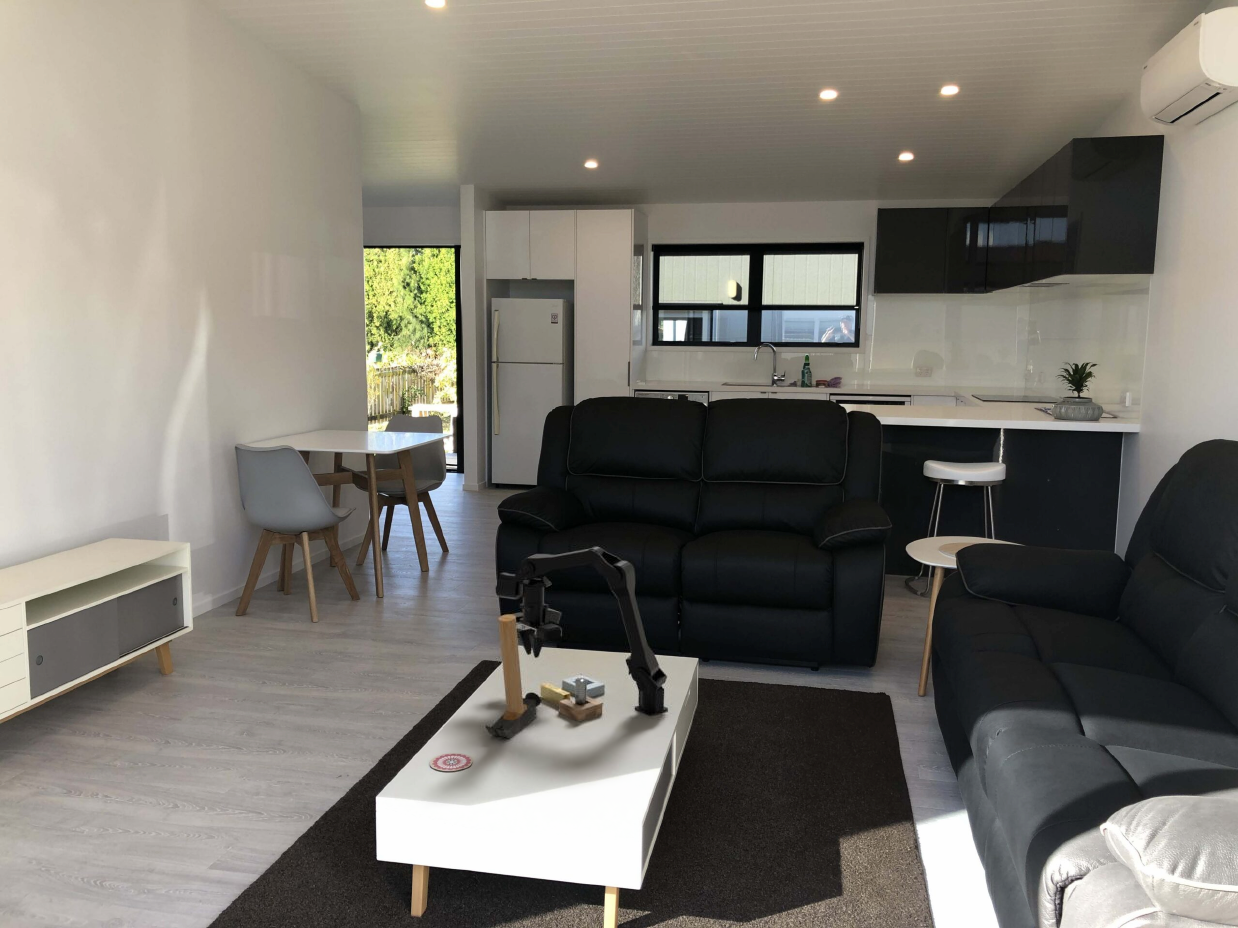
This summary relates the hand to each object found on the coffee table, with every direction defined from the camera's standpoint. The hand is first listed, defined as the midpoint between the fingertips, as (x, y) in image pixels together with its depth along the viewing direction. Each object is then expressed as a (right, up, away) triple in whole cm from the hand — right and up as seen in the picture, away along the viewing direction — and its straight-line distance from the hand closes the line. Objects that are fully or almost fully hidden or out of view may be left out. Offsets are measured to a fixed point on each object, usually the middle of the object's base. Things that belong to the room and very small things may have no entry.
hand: (532, 655), depth 254 cm
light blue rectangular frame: (+14, -10, +2) cm, 17 cm away
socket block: (+14, -12, -14) cm, 23 cm away
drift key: (+7, -11, -6) cm, 14 cm away
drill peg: (+14, -12, -14) cm, 23 cm away
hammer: (-2, -13, -24) cm, 27 cm away
